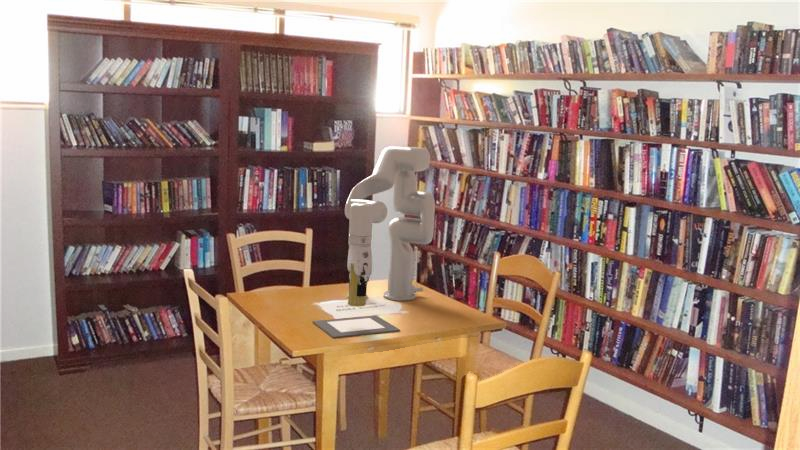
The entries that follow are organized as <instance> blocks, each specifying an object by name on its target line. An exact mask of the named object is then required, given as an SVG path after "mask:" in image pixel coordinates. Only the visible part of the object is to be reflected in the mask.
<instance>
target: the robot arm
mask: <svg viewBox="0 0 800 450" xmlns="http://www.w3.org/2000/svg"><path fill="white" fill-rule="evenodd" d="M430 162H431V154H430V152H429V150H428V149H427V148H426V147H418V146H407V145H406V146H405V145H390V146H386V147H385V148H383V149H382V150H381V151H380V154H379V157H378V159H377V162H376V164H375V166H374V168H373V170H372V174H371V175H370V176H368V177H365V178H364V179H362V180H361V181H359V182H358V183H356V185H355V186H354V187H353V188H351V190H350V193H349V195H348V197H347V199H346V203H345V205H344V206H345V207H344V216H345V217H346V219H348V220H349V223H348V226H349V227H348V241H347V242H348V250H347V251H348V253H347V262H346V263H347V267H346V268H347V270H348V280H349V281H348V287H349V286H350V271H351V262H352V263H354V272H355V274H356V275H357V276H358V284H357V296H358V297H360V296H366V295H367V287H368V286H367V285H368V281H369V279H370V277H371V275H372V274H373V273H372V271H373V256H372V255H373V254H372V239H373V237H372V235H373V234H372V232H373V224H380V223H382V222H384V221H385V220H386V218H387V216H388V206H387V205H386V204H385V203H384V202H382V201H379V200H374V199H373V200H370V199H366V198H367V197H369V196H372V195H377V194H380V193H384V192H386V191H388V190H391V189H392V188H393V210H394V211H395V213H397V214H401V215H409V216H418V217H420V218H413V217H405V216H398V217H397V216H396V217H394V218H392V219H391V220H390V222H389V223H388V236H389V258H388V259H389V261H388V280H387V282H388V283H387V291H384V293H383V297H384V298H385V299H387V300H392V301H397V302H399V301H400V302H402V301H403V302H404V301H405V302H406V301H407V302H408V301H412V300H415V299H416V295H417V294H416V293H418V292H419V293H422V292H424V288H423V286H418V285H417V286H416V285H413V282H414V281H413V280H414V278H413V277H414V264H415V262H414V260H415V259H414V258H415V252H414V249H413V247H412V246H411V244H417V245H429V244H430V243H431V242H433V241H432V240H433V237H434V232H435V231H434V230H435V213H436V212H435V211H436V209H435V208H436V203H435V202H436V201H435V197H434V195H433V194H432V193H431V192H429V191H425V190H424V191H423V190H417V176H416V174H415V172H424V171H426V170H427V169H428V167H429V165H430ZM361 273H364V275H361ZM361 277H364V278H362V280H361Z"/></svg>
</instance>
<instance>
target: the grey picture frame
mask: <svg viewBox="0 0 800 450" xmlns="http://www.w3.org/2000/svg"><path fill="white" fill-rule="evenodd" d="M312 324H314V325H315V326H316V327H318V328H320V330H322V331H323V332H324V333H325V334H327V335H329V337H331V338H332V339H338V338H340V339H341V338H347V337H348V338H349V337H358V336H368V335H377V334H385V333H386V334H387V333H395V332H396V333H397V332H400V331H401V329H399V328H398V327H396V326H395V325H393V324H391V323H390V322H388V321H386V320H385V319H383V318H382V317H380V316H379V315H376V314H375V315H363V316H356V317H355V316H353V317H343V318H342V317H341V318H334V319H333V318H332V319H331V318H329V319H322V320H312Z"/></svg>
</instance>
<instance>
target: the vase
mask: <svg viewBox="0 0 800 450" xmlns="http://www.w3.org/2000/svg"><path fill="white" fill-rule="evenodd" d="M361 275H364V273H361ZM362 278H364V277H361V280H362ZM357 284H358V276H357V275H356V274H355V272H354V263H352V262H351V271H350V286H349V285H348V294H349V298H347V305H349V306H350V307H357V308H358V307H361V308H362V307H365V306H366V305H367V301H366V299H367V298H366V296H360V297H358V296H357ZM365 298H366V299H365Z"/></svg>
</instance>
